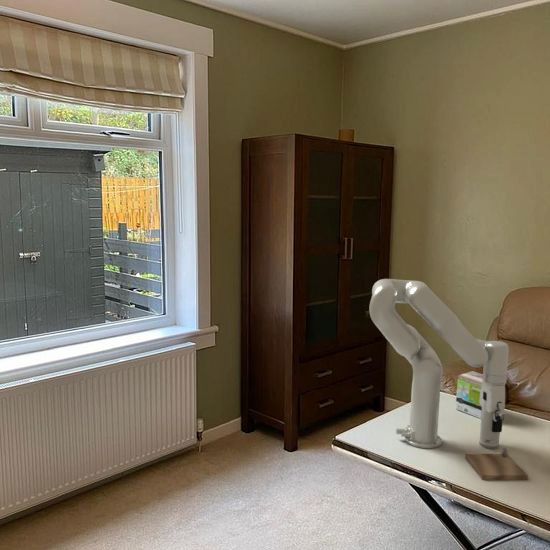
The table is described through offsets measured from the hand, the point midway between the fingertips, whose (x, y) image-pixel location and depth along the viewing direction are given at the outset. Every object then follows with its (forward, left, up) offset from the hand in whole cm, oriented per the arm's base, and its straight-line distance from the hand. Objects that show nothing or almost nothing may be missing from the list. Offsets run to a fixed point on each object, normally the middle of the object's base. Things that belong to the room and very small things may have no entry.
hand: (490, 426), depth 192 cm
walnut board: (-5, -16, -7) cm, 18 cm away
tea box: (+8, +29, -7) cm, 31 cm away
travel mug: (0, 0, -7) cm, 7 cm away
